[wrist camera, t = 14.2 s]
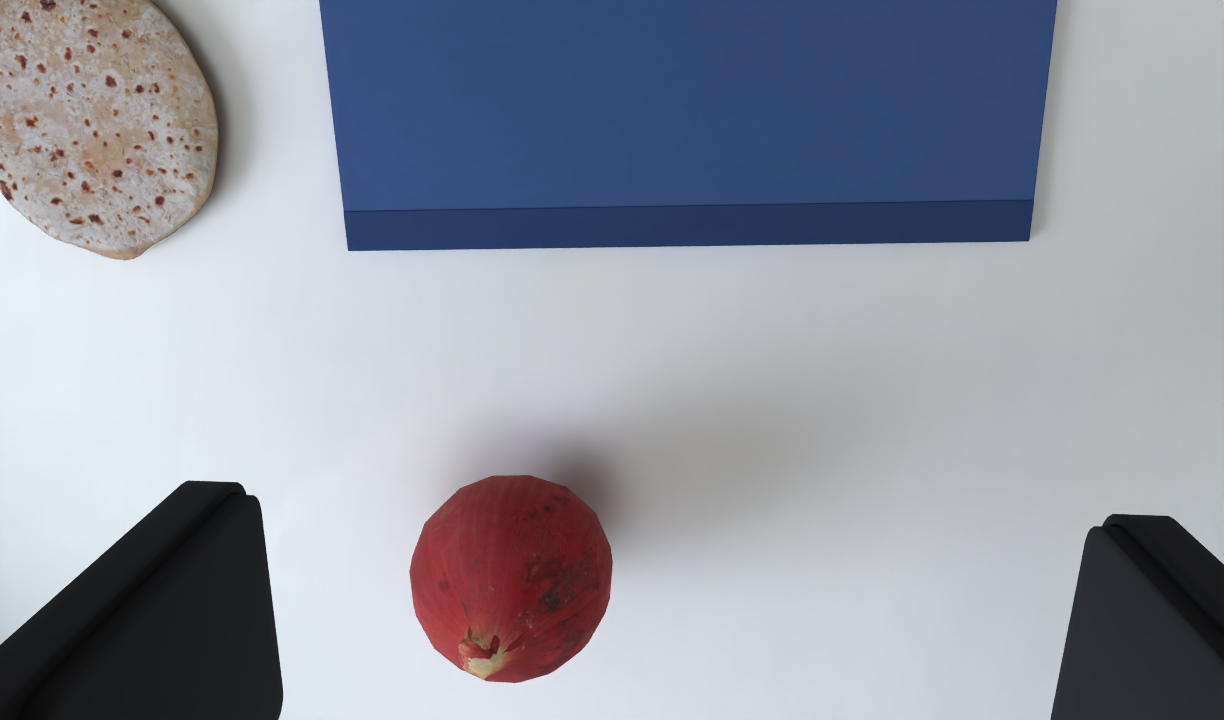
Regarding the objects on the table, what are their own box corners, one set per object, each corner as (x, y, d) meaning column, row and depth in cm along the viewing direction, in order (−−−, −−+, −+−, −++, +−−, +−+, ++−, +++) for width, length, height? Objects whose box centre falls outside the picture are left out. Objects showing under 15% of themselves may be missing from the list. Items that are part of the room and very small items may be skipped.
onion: (575, 409, 29) (544, 533, 22) (644, 558, 31) (637, 722, 23) (414, 469, 30) (330, 609, 23) (488, 611, 32) (433, 785, 24)
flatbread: (-80, 14, 26) (-108, 13, 25) (157, -67, 25) (137, -72, 24) (48, 281, 29) (27, 289, 28) (269, 218, 28) (255, 223, 27)
